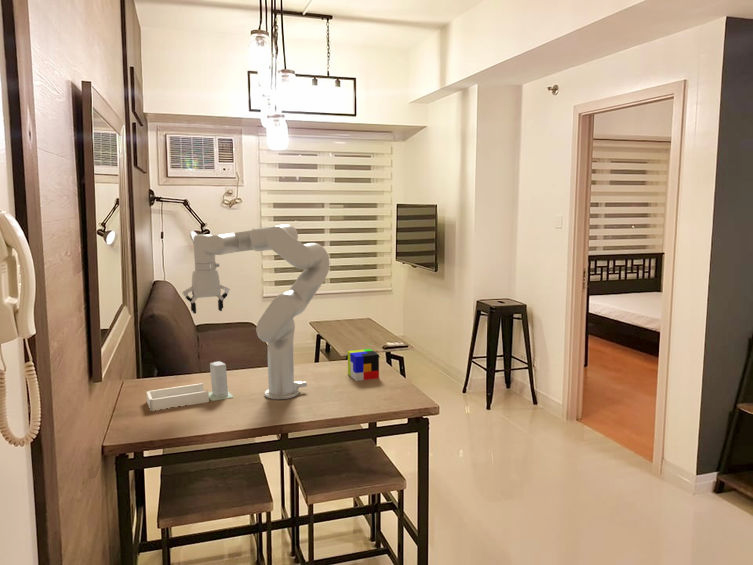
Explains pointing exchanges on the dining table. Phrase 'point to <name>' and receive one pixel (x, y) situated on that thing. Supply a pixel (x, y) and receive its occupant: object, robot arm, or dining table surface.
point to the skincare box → (219, 379)
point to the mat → (214, 398)
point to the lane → (176, 396)
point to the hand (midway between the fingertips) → (207, 311)
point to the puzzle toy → (363, 364)
